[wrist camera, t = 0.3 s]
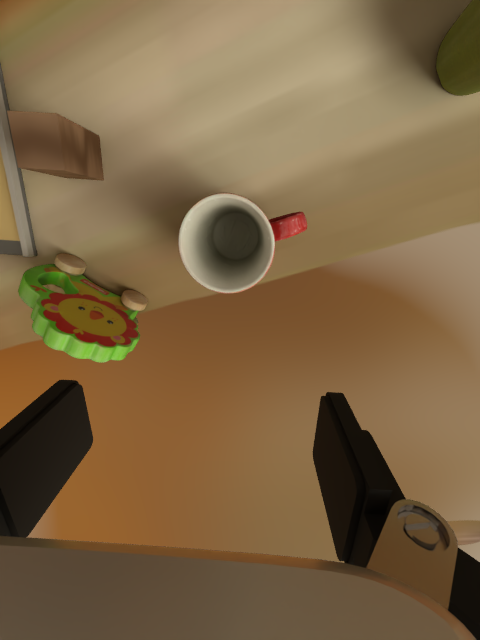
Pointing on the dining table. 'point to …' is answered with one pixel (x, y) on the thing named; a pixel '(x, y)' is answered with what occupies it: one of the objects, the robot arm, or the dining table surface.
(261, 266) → the mug
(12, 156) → the grey flat rectangular piece
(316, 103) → the dining table surface
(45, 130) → the walnut block
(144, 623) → the robot arm
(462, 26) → the plant pot
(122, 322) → the toy lion
